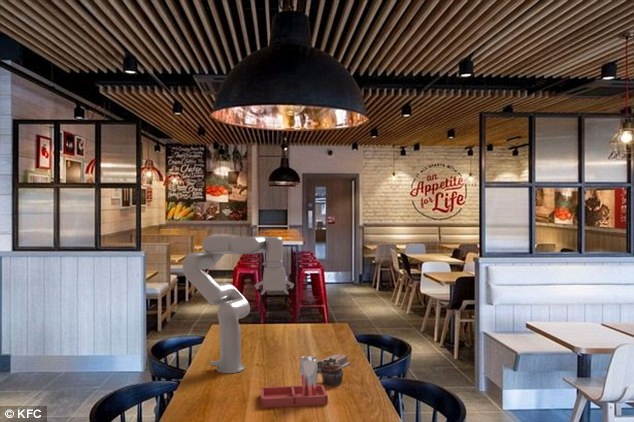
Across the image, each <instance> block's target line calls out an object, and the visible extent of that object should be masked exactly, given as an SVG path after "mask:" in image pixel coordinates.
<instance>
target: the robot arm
mask: <svg viewBox="0 0 634 422" xmlns="http://www.w3.org/2000/svg"><path fill="white" fill-rule="evenodd" d="M283 243H284V241H283V238H282V237H281V236H265V235H255V236H241V237H239V236H235V235H231V234H230V235H223V234H218V235H216V234H215V235H209V236H207V237H205V238H204V239H203V240H202V243H201V248H202V249H203V251H197V252H192V253H189V254H188V255H186V256H185V257H184V259H183V261H182V270H183V271H182V272H183V275H184V276H185V277H186V279H187V280H188V281H189V282H190V283H191V284H192V285H193V286H194V287H195V288H196V289H197V290H198V292H199V293H200V294H201V295H202V296H203V298H205V300H206V301H207V302H208V303H209V304H211V305H213V306H218V305H219V307H218V308H217V319H218V324H219V325H218V326H219V359H218V360H210V363H209V365H210V366H211V367H216V371H217V372H218V373H220V374H235V373H239V372H240V373H241V372H242V371H244V370H245V365H244V364H242V362H241V361H242V352H241V351H242V349H241V348H242V341H241V340H242V337H241V335H242V333H241V332H242V331H241V326H240V323H239V320H241V319H244V318H245V317H247V316H248V315H249V314H250V311H251V306H250V303H249V301H248V300H247V298H245V296H244V295H243V294H242V293H241V292H240V291H239V290H238V288H236V287H235V286H234V285H233V284H231V283H229V282H220V283H219V282H217V281H215V279H214V278H213V277H212V276H211V275H210V274H208V273H207V272H206V271H204V270H207V269H211V268H212V267H214V266H215V265H216V264H217V263H218V262H219V260H221V258H223V256H224V255H255V254H261V253H265V261H262V266H265V267H264V268H263V275H262V276H263V278H262V280H261V281H260V282H257V283H256V284H255V283H254V287H255V289H256V291H257V292H258V293H259V294H260V296H261V297H260V298H261V299H260V301H261V302H262V305H265V303H266V302H265V301H266V300H265V298H266V297H265V296H266V295H265V293H266V292H274V291H275V292H282V291H283V292H284V297H283V298H284V301H283V302H284V304H287V302H288V301H289V294H290V293H291V292H292V290H293V288H294V286H295V284H294V283H293V282H291V281H289V280H287V275H286V268H285V267H284V260H283V259H284V257H283V256H284V255H283V254H284V251H283V250H284V245H283ZM287 285H289V287H288V289H287ZM260 286H262V289H261V288H260Z"/></svg>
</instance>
